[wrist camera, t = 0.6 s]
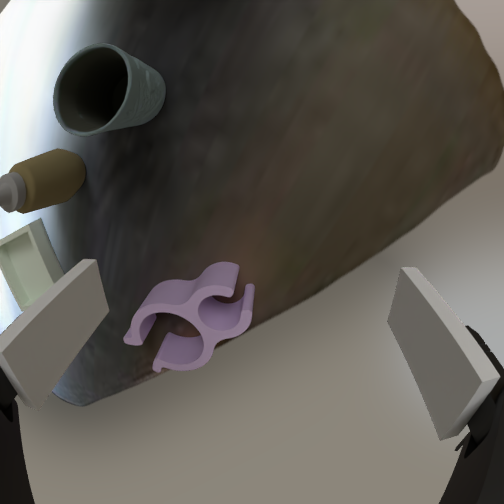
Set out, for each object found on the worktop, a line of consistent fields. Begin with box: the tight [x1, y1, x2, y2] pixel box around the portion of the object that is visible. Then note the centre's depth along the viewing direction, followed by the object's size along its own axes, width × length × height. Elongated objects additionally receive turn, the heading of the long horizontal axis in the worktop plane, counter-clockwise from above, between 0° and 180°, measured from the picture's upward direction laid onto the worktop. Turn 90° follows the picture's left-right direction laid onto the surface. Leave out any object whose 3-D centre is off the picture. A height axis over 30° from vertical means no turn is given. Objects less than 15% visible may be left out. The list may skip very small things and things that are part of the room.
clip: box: [123, 262, 255, 372], centre depth 42 cm, size 20×12×7 cm, turn 125°
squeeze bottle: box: [0, 148, 86, 214], centre depth 29 cm, size 8×8×18 cm
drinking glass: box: [53, 43, 166, 137], centre depth 28 cm, size 10×10×12 cm
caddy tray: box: [0, 218, 64, 311], centre depth 43 cm, size 15×15×4 cm
